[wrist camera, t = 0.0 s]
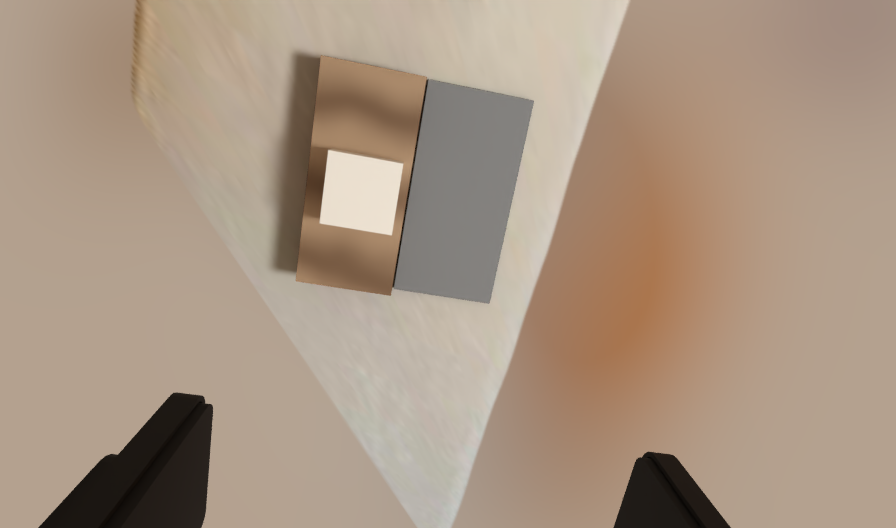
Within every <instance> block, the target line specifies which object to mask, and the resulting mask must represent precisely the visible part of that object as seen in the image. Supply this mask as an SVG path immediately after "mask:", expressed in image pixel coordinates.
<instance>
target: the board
mask: <svg viewBox="0 0 896 528" xmlns="http://www.w3.org/2000/svg"><path fill="white" fill-rule="evenodd" d="M426 79H427V77H425V76H420V75H415V74H410V73H405V72H400V71H395V70H390V69H385V68H381V67H376V66H371V65H366V64H361V63H356V62H351V61H346V60H341V59H336V58H331V57H326V56H322V55H321V59H320V68H319V77H318V86H317V95H316V104H315V113H314V122H313V131H312V140H311V148H310V157H309V166H308V175H307V184H306V193H305V202H304V211H303V220H302V229H301V238H300V247H299V256H298V265H297V274H296V281H298V282H305V283H311V284H318V285H324V286H331V287H337V288H344V289H350V290H357V291H363V292H370V293H376V294H383V295H390V296H391V291H392V285H393V279H394V273H395V267H396V261H397V255H398V249H399V243H400V237H401V231H402V224H403V218H404V212H405V206H406V200H407V194H408V188H409V182H410V176H411V170H412V164H413V158H414V152H415V146H416V140H417V134H418V127H419V121H420V115H421V109H422V103H423V97H424V91H425V85H426ZM330 149H337V150H342V151H348V152H353V153H359V154H364V155H370V156H375V157H381V158H386V159H391V160H397V161H402V162H404V164H403V170H402V176H401V182H400V189H399V195H398V201H397V207H396V213H395V220H394V226H393V232H392V235H386V234H380V233H374V232H368V231H362V230H356V229H350V228H344V227H338V226H332V225H326V224H320V215H321V206H322V198H323V190H324V181H325V173H326V165H327V157H328V150H330Z"/></svg>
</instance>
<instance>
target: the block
mask: <svg viewBox="0 0 896 528" xmlns="http://www.w3.org/2000/svg"><path fill="white" fill-rule="evenodd" d="M403 164H404V162H402V161H397V160H391V159H386V158H381V157H375V156H370V155H364V154H359V153H353V152H348V151H342V150H337V149H330V150H328V157H327V165H326V173H325V181H324V190H323V198H322V206H321V215H320V224H326V225H332V226H338V227H344V228H350V229H356V230H362V231H368V232H374V233H380V234H386V235H392V232H393V226H394V220H395V213H396V207H397V201H398V195H399V189H400V182H401V176H402V170H403Z"/></svg>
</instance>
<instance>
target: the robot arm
mask: <svg viewBox="0 0 896 528" xmlns="http://www.w3.org/2000/svg"><path fill="white" fill-rule="evenodd" d="M212 417H213V406H212V405H211V404H205V399H204V397H203V396H200V395H191V394H183V393H173V394H172V395H171V396H170V397H169V398H168V399H167V400H166V401H165V402H164V403H163V405H162V406H161V407H160V408H159V409H158V410H157V411H156V412H155V414H154V415H153V416H152V417H151V418H150V419H149V420H148V421H147V423H146V424H145V425H144V426H143V427H142V428H141V429H140V431H139V432H138V433H137V434H136V435H135V436H134V437H133V438H132V440H131V441H130V442H129V443H128V444H127V445H126V446H125V447H124V449H123V450H122V451H121V452H120V453H119V454H118V455H115V454H110V455H107V456H105V457H104V458H103V459H102V460H100V461H99V463H98V464H97V465H96V466H95V467H94V468H93V469H92V470H91V471H90V472H89V473H88V474H87V475H86V477H85V478H84V479H83V480H82V481H81V482H80V483H79V484H78V485H77V486H76V487H75V488H74V490H73V491H72V492H71V493H70V494H69V495H68V496H67V497H66V498H65V499H64V500H63V501H62V503H61V504H60V505H59V506H58V507H57V508H56V509H55V510H54V511H53V512H52V513H51V515H50V516H49V517H48V518H47V519H46V520H45V521H44V522H43V523H42V525H40V526H39V528H201V527H202V524H203V521H204V517H205V512H206V501H207V487H208V473H209V459H210V445H211V431H212ZM614 528H731V527H730V526H729V525H728V524H727V522H726V521H725V520H724V519H723V517H722V516H721V515H720V513H719V512H718V511H717V509H716V508H715V507H714V506H713V505H712V503H711V502H710V500H709V499H708V498H707V497H706V495H705V494H704V493H703V491H702V490H701V489H700V488H699V486H698V485H697V484H696V482H695V481H694V480H693V478H692V477H691V476H690V475H689V473H688V472H687V471H686V470H685V468H684V467H683V466H682V464H681V463H680V462H679V461H678V459H677V458H676V457H675V456H673V455H670V454H661V453H654V452H647V453H645V454H644V455H643V457H642V458H638V459H637V460H636V462H635V465H634V467H633V470H632V473H631V477H630V480H629V483H628V486H627V489H626V492H625V495H624V498H623V501H622V504H621V507H620V510H619V513H618V516H617V519H616V522H615V525H614Z"/></svg>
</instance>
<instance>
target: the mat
mask: <svg viewBox="0 0 896 528" xmlns="http://www.w3.org/2000/svg"><path fill="white" fill-rule="evenodd" d="M533 103H534V101H533V100H528V99H523V98H518V97H513V96H508V95H503V94H498V93H493V92H489V91H484V90H479V89H474V88H469V87H464V86H459V85H454V84H449V83H444V82H439V81H434V80H428V85H427V91H426V97H425V103H424V109H423V115H422V121H421V128H420V134H419V140H418V146H417V152H416V158H415V164H414V170H413V176H412V182H411V188H410V194H409V200H408V206H407V212H406V218H405V224H404V230H403V236H402V242H401V248H400V254H399V260H398V266H397V272H396V278H395V284H394V289H397V290H404V291H410V292H417V293H423V294H430V295H436V296H443V297H449V298H456V299H462V300H469V301H475V302H482V303H488V304H489V303H490V299H491V294H492V289H493V285H494V280H495V276H496V271H497V267H498V262H499V258H500V253H501V249H502V244H503V239H504V235H505V230H506V226H507V221H508V217H509V212H510V208H511V203H512V199H513V194H514V190H515V185H516V180H517V176H518V171H519V167H520V162H521V158H522V153H523V149H524V144H525V140H526V135H527V130H528V126H529V121H530V117H531V112H532V108H533Z"/></svg>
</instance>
